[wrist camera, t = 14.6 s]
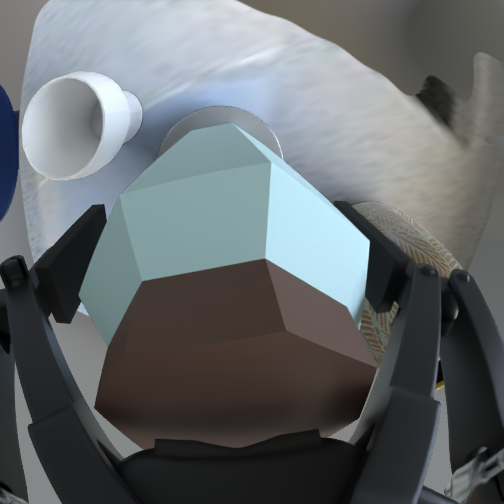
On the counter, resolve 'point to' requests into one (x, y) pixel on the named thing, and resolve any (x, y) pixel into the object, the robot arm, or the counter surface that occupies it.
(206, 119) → the navy round container
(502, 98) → the counter surface
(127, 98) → the cup
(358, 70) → the counter surface
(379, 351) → the vase
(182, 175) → the water bottle
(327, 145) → the counter surface
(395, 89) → the counter surface
